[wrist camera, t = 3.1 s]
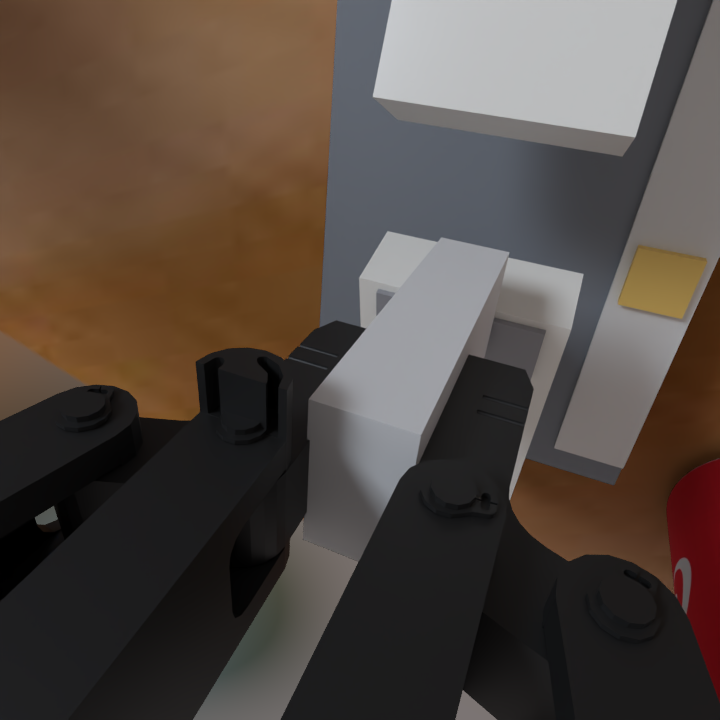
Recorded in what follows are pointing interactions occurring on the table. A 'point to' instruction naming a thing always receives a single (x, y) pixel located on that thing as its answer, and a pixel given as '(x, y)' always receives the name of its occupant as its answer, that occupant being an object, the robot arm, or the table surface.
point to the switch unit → (547, 222)
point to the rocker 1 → (525, 67)
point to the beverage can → (698, 557)
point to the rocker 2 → (511, 321)
